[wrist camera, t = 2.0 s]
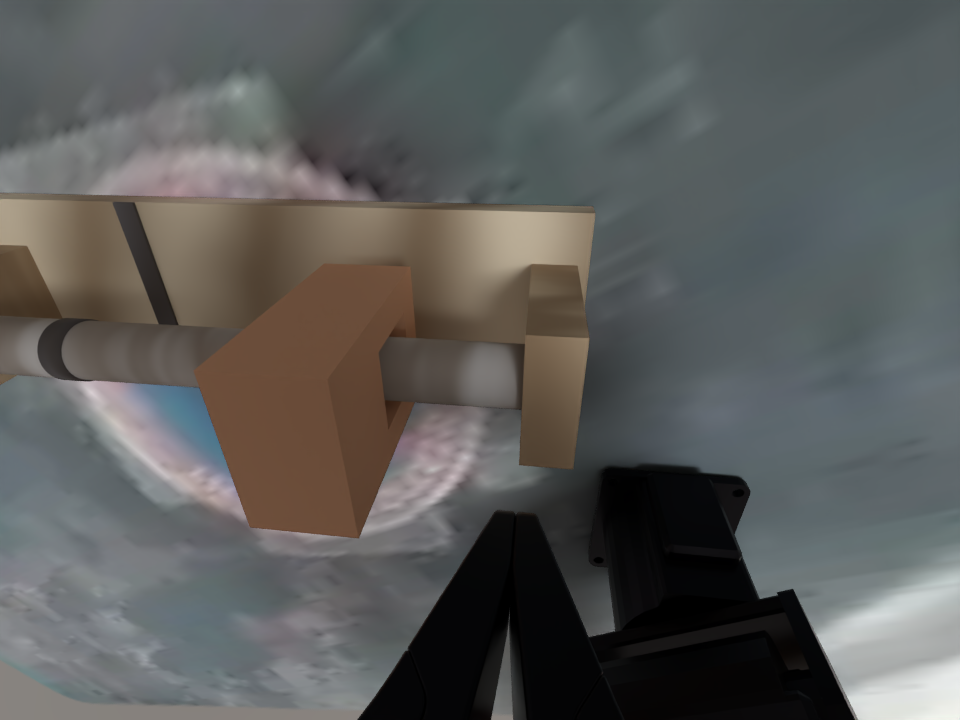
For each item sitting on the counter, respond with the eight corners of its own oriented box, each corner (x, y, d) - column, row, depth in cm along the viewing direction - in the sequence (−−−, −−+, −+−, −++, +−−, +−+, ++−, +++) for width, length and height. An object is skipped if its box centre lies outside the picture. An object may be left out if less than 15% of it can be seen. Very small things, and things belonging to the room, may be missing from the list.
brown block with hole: (410, 266, 16) (327, 379, 10) (420, 389, 18) (358, 538, 12) (324, 263, 16) (193, 370, 10) (345, 383, 19) (249, 527, 13)
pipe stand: (593, 206, 17) (615, 270, 11) (571, 396, 21) (580, 513, 15) (-16, 192, 19) (-247, 238, 14) (71, 363, 23) (-80, 453, 18)
